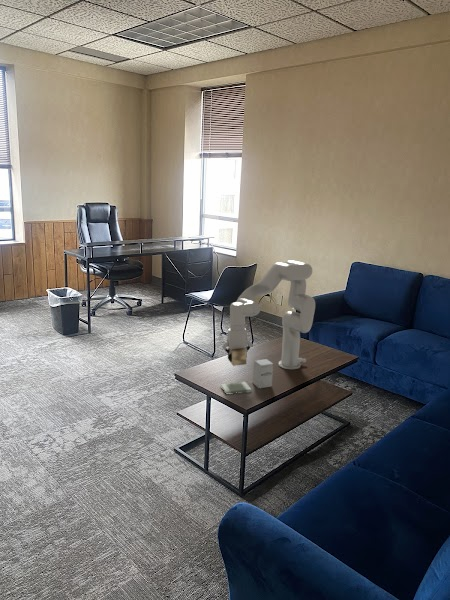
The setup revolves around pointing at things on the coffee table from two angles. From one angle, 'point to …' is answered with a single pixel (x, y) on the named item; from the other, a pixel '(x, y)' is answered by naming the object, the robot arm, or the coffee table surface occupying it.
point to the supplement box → (263, 373)
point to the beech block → (238, 356)
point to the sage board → (236, 387)
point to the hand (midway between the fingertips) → (237, 359)
